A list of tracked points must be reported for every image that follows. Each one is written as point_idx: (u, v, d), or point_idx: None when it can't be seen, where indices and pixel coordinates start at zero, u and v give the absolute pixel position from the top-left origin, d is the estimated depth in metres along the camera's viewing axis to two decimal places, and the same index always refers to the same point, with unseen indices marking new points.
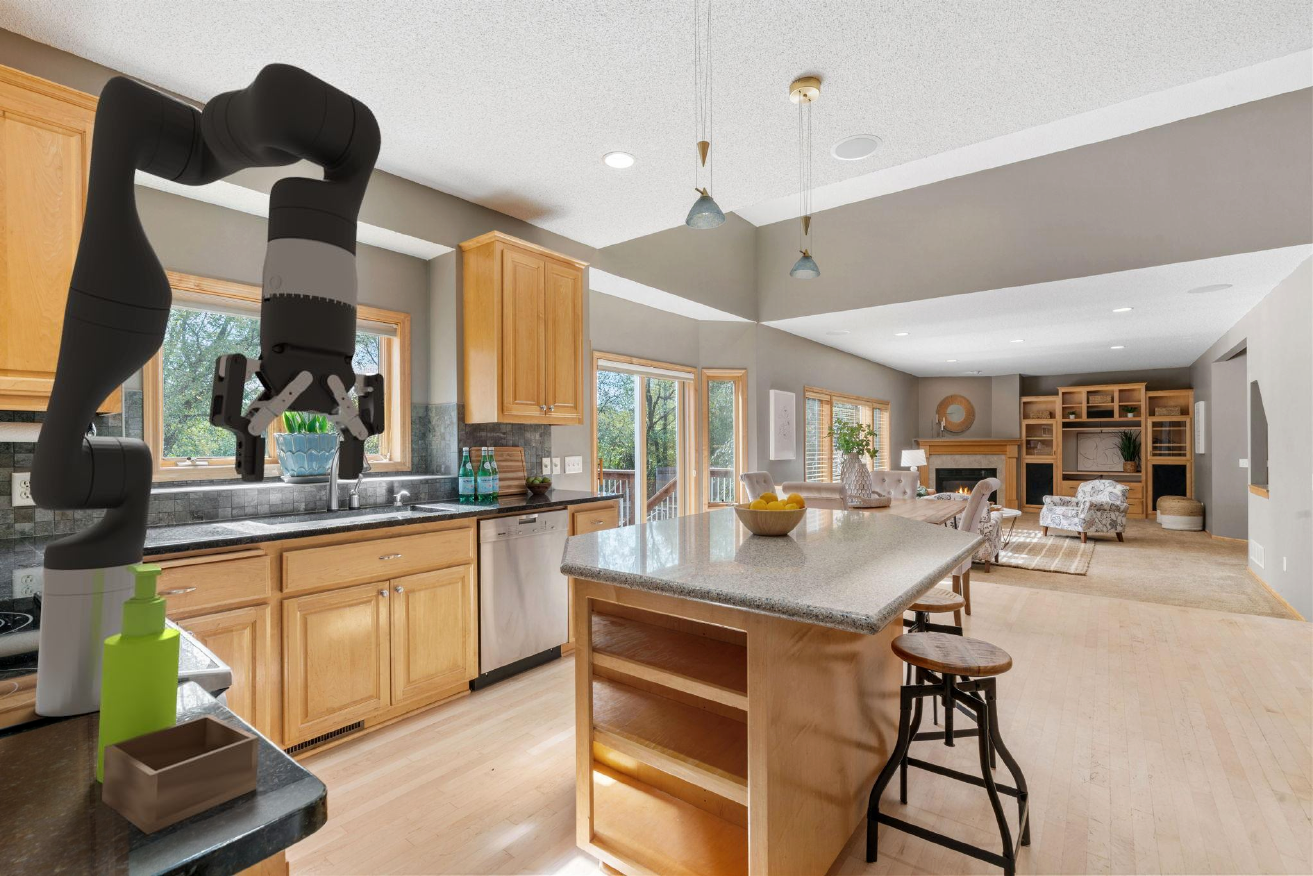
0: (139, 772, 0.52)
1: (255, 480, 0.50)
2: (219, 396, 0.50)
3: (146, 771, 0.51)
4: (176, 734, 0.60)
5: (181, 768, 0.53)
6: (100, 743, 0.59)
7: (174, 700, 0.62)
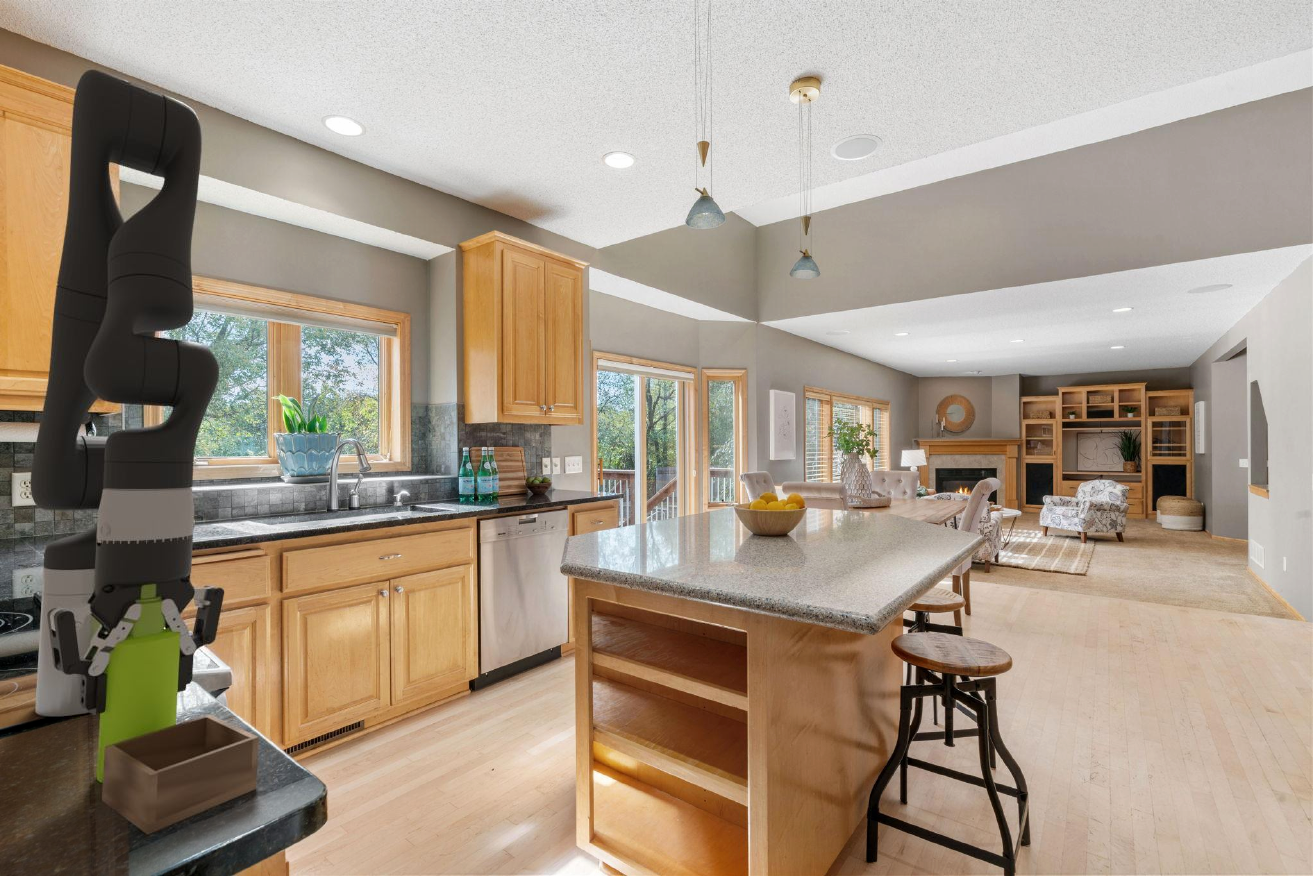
0: (139, 772, 0.52)
1: (96, 713, 0.58)
2: None
3: (146, 771, 0.51)
4: (176, 734, 0.60)
5: (181, 768, 0.53)
6: (100, 743, 0.59)
7: (174, 700, 0.62)
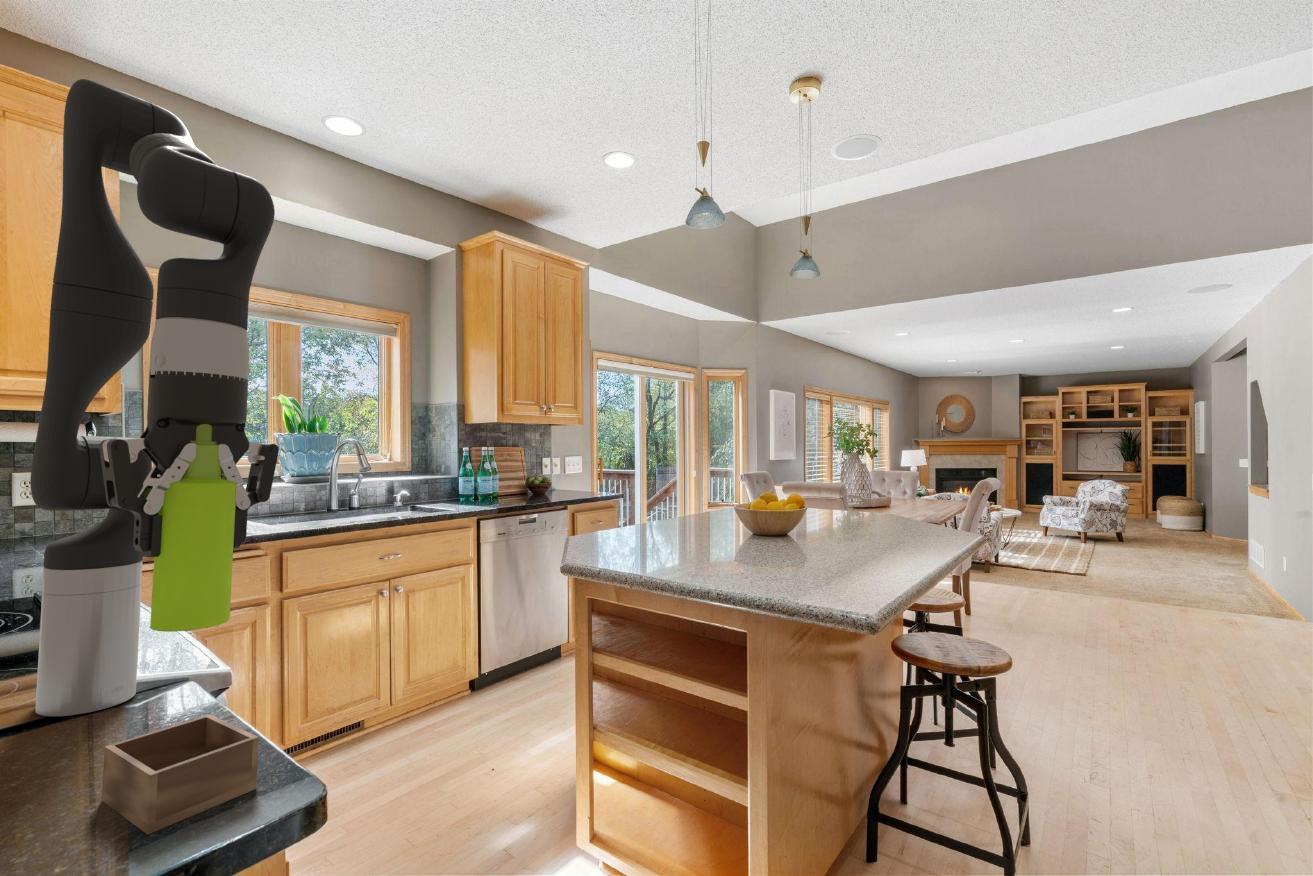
0: (139, 772, 0.52)
1: (152, 555, 0.54)
2: (110, 480, 0.53)
3: (146, 771, 0.51)
4: (176, 734, 0.60)
5: (181, 768, 0.53)
6: (155, 589, 0.55)
7: (231, 552, 0.58)
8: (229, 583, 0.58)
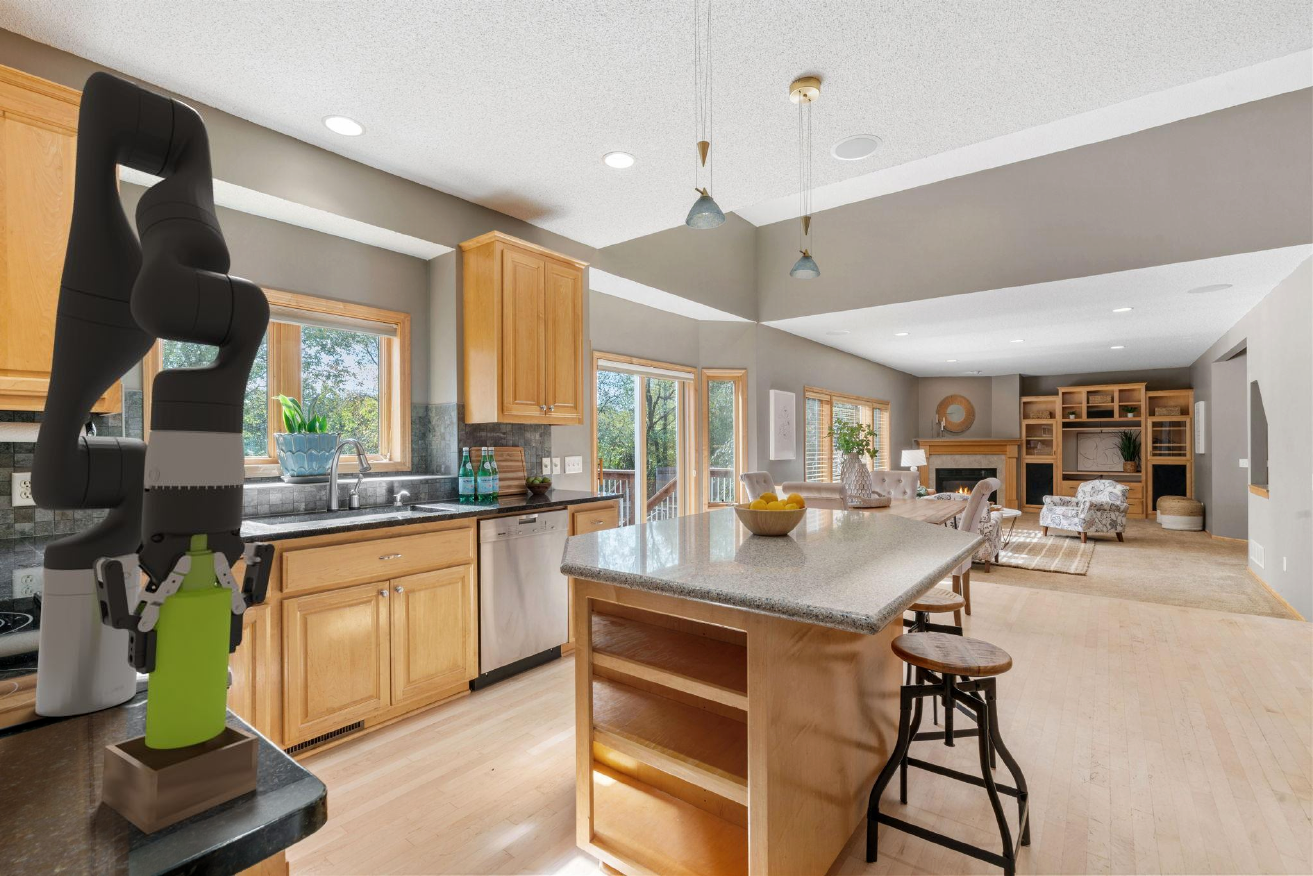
0: (139, 772, 0.52)
1: (146, 672, 0.54)
2: None
3: (146, 771, 0.51)
4: None
5: (181, 768, 0.53)
6: (149, 705, 0.54)
7: (226, 661, 0.58)
8: (225, 692, 0.58)
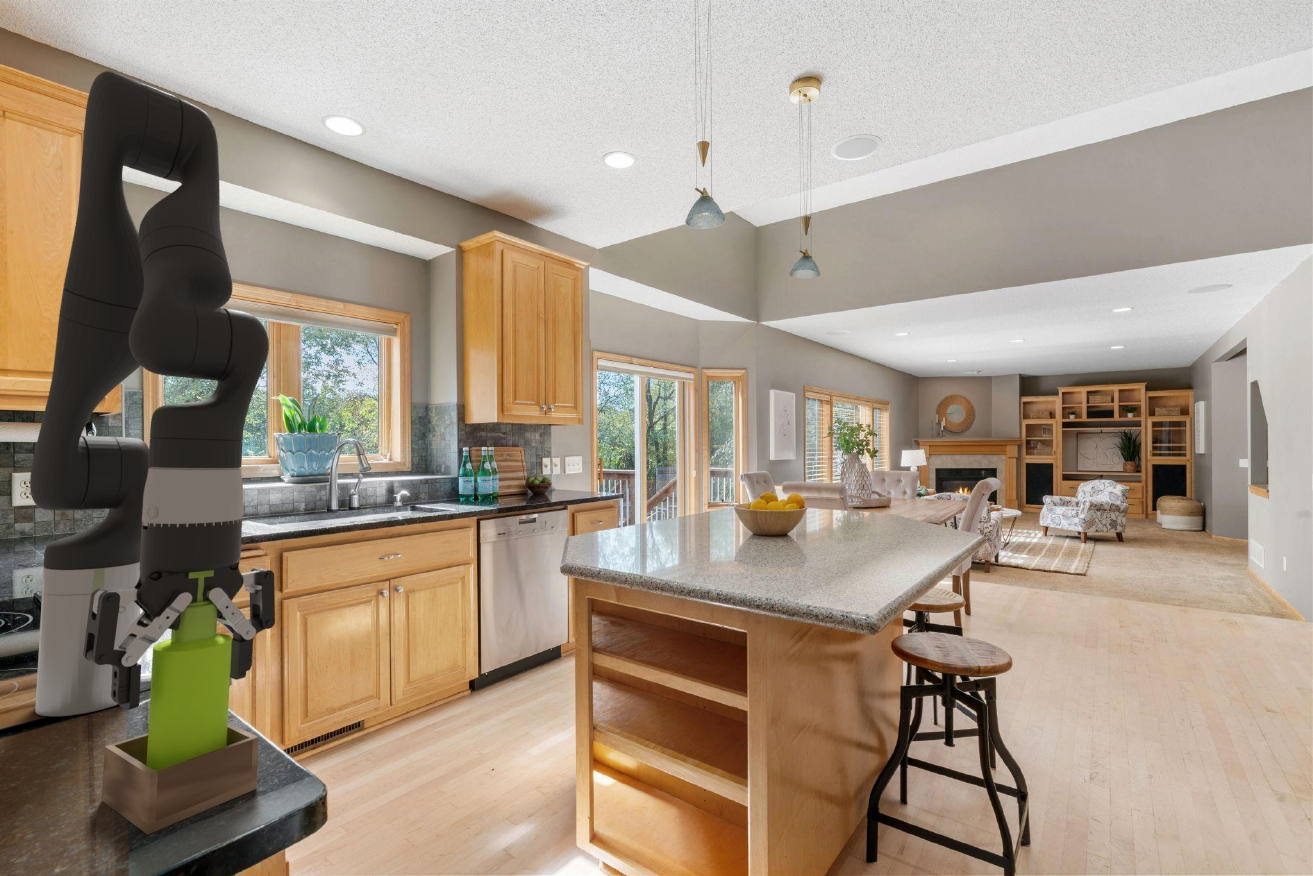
0: (139, 772, 0.52)
1: (130, 708, 0.53)
2: None
3: (146, 771, 0.51)
4: None
5: (181, 768, 0.53)
6: (149, 758, 0.54)
7: (226, 711, 0.58)
8: (224, 742, 0.58)
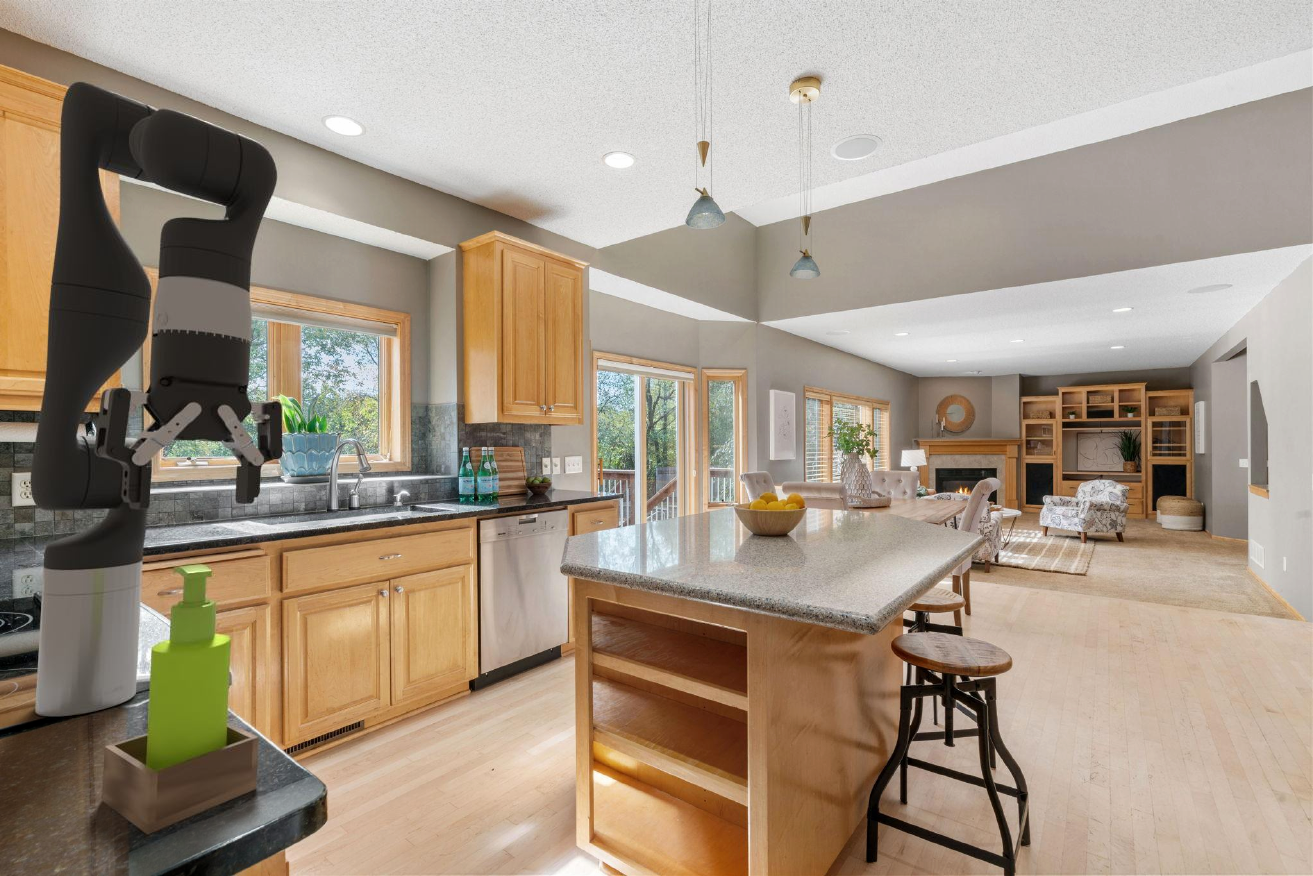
0: (139, 772, 0.52)
1: (140, 507, 0.53)
2: (104, 428, 0.52)
3: (146, 771, 0.51)
4: None
5: (181, 768, 0.53)
6: (148, 759, 0.54)
7: (225, 712, 0.58)
8: (224, 742, 0.58)
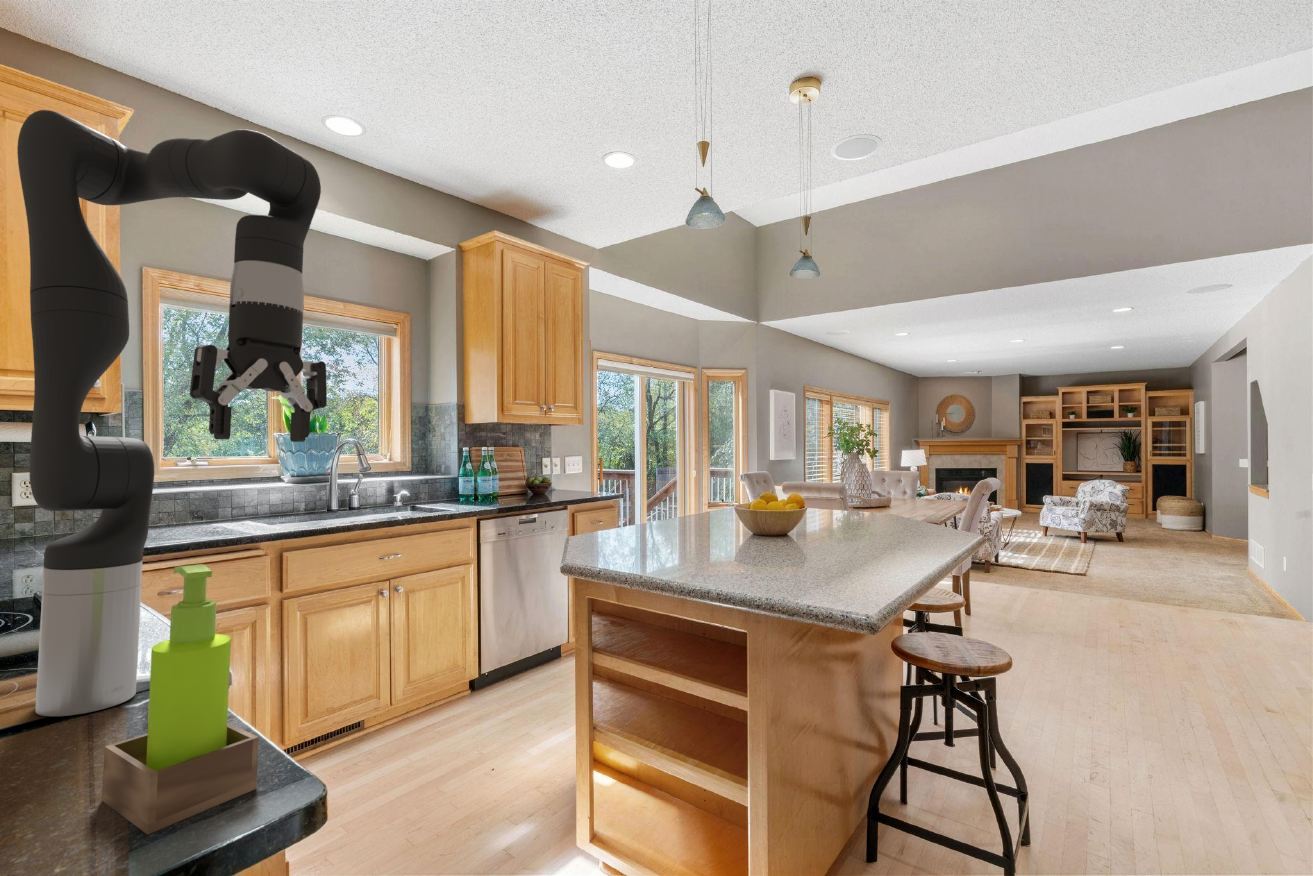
0: (139, 772, 0.52)
1: (223, 437, 0.69)
2: (197, 376, 0.68)
3: (146, 771, 0.51)
4: None
5: (181, 768, 0.53)
6: (148, 758, 0.54)
7: (225, 712, 0.58)
8: (224, 742, 0.58)
